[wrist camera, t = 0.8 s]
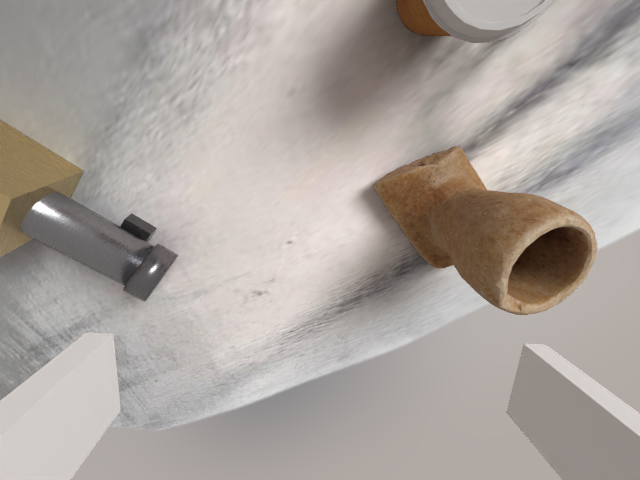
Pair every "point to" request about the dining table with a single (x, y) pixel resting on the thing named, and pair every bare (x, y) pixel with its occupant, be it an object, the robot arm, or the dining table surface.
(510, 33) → the disposable coffee cup
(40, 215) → the valve pipe
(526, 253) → the tan flared piece
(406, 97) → the dining table surface
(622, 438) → the robot arm
